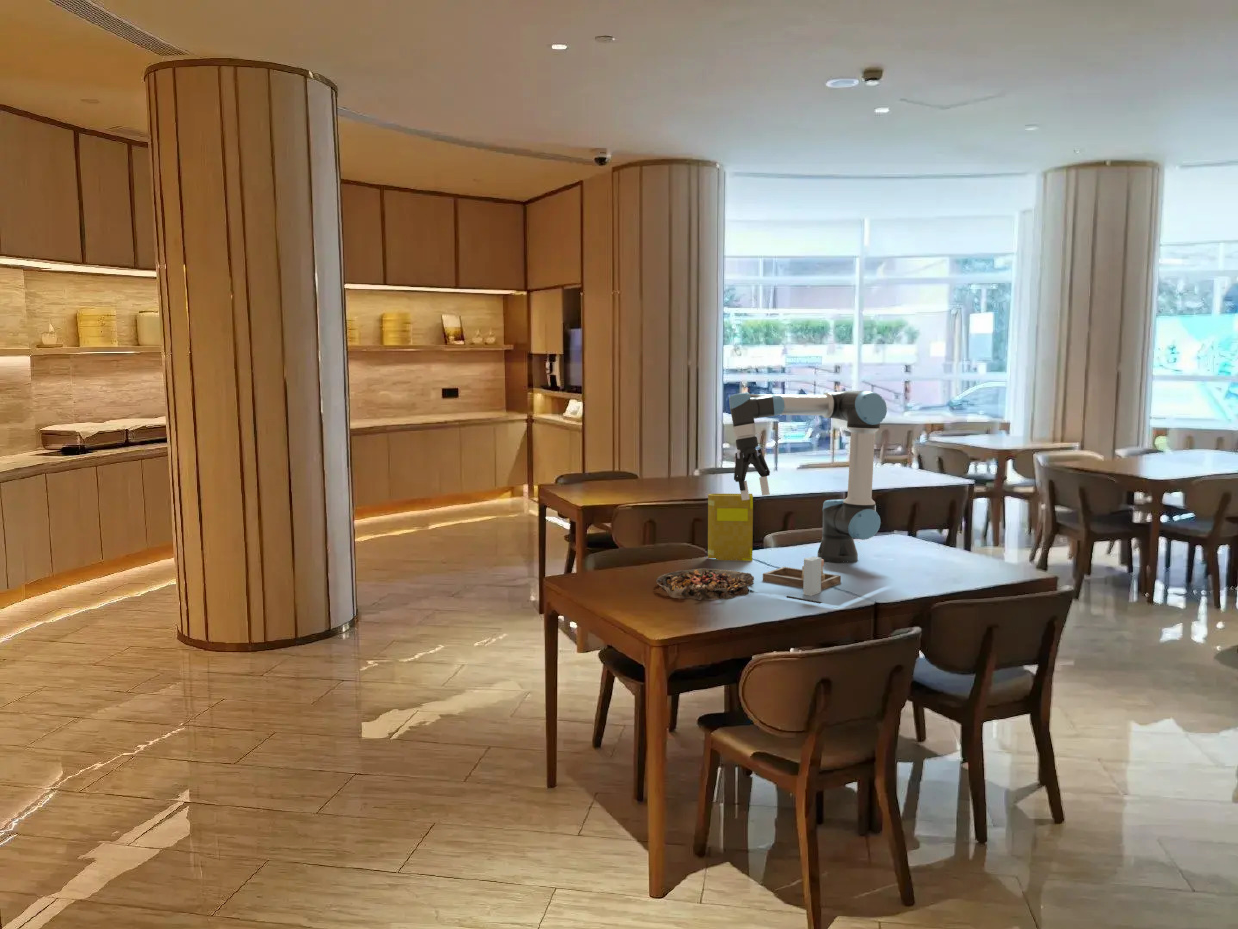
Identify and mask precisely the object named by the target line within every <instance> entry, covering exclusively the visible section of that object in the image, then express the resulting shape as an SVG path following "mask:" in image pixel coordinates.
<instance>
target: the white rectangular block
mask: <svg viewBox="0 0 1238 929" xmlns="http://www.w3.org/2000/svg"><path fill="white" fill-rule="evenodd" d="M803 566H804V584H803V587H802V588H803V590H802V591H803V595H805V596H809V597H812V596H815V595H817V594H820V593H822V590H821V558H820V557H817V556H810V557H807V559H805V558H804V559H803Z"/></svg>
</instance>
